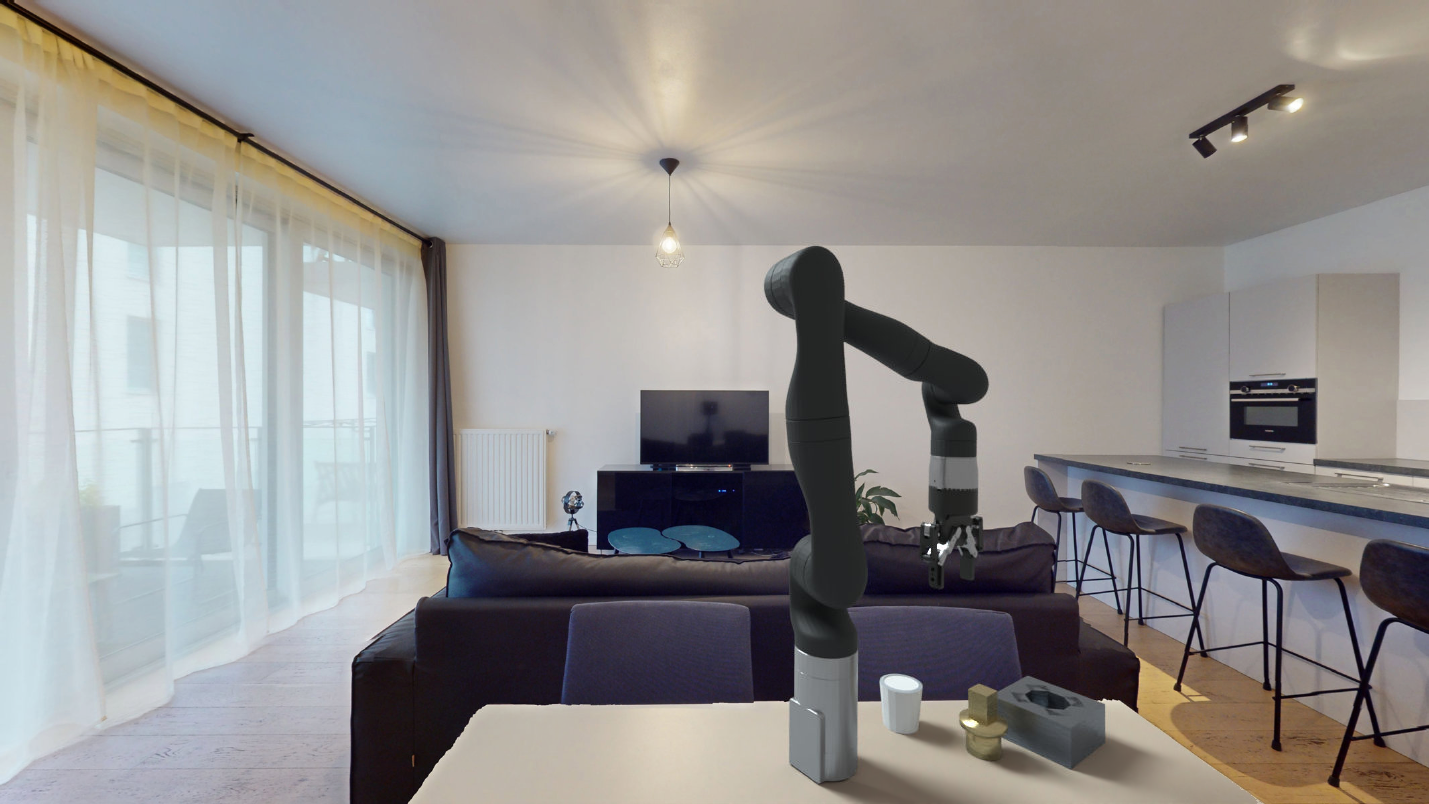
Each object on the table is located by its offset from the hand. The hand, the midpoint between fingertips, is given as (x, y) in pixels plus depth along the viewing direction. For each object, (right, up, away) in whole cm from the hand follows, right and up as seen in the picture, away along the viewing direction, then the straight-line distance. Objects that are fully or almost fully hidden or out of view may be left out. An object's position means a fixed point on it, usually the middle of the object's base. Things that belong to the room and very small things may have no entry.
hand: (952, 583), depth 96 cm
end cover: (+3, -24, -6) cm, 25 cm away
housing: (+15, -24, -2) cm, 28 cm away
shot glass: (-8, -24, +2) cm, 26 cm away
